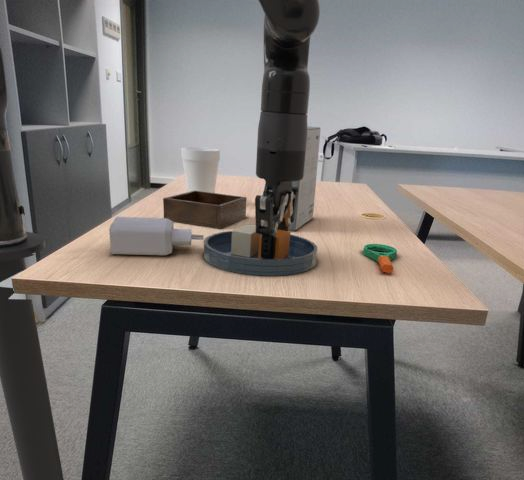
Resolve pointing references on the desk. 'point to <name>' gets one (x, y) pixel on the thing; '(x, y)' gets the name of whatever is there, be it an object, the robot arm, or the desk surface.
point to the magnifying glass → (381, 255)
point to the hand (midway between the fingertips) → (273, 253)
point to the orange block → (279, 244)
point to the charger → (147, 236)
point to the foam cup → (200, 168)
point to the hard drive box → (307, 181)
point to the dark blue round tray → (293, 263)
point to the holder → (205, 208)
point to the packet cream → (245, 241)
